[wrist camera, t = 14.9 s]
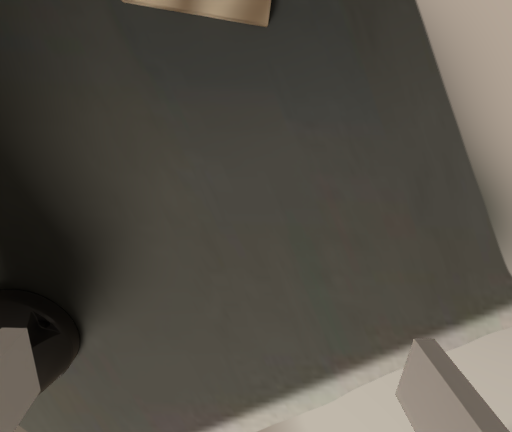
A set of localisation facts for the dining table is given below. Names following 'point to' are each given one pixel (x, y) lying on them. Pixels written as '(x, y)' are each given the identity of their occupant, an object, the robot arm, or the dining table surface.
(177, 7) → the birch board
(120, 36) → the dining table surface
